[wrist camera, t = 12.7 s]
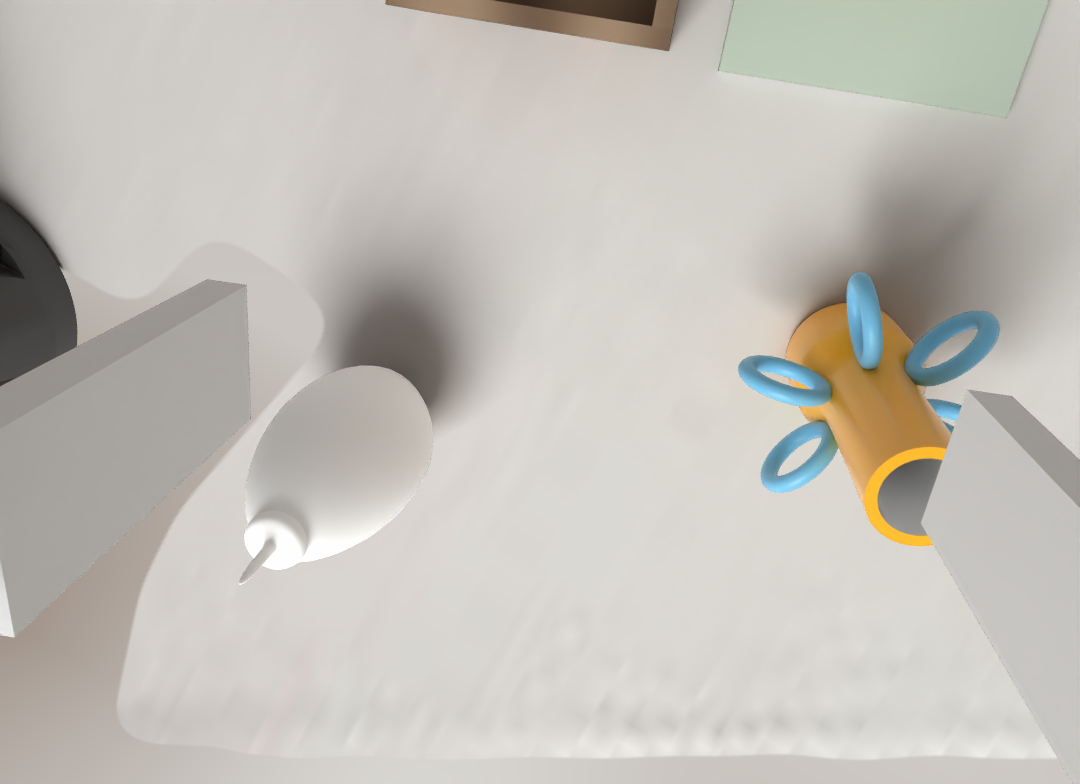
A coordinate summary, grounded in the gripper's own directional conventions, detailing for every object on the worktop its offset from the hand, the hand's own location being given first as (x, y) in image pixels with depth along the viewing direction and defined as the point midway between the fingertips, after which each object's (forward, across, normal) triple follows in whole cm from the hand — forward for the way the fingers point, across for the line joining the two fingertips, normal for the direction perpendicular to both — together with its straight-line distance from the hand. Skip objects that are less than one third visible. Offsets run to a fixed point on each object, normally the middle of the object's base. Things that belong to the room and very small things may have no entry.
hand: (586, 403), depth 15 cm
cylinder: (+28, +13, -7) cm, 32 cm away
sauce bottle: (+29, -12, -14) cm, 34 cm away
